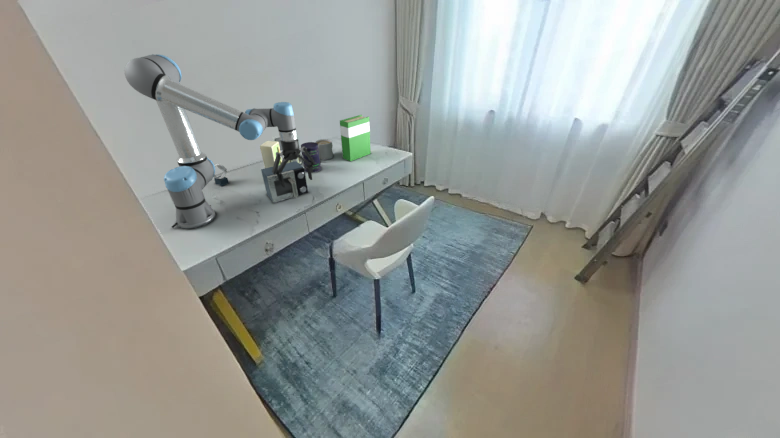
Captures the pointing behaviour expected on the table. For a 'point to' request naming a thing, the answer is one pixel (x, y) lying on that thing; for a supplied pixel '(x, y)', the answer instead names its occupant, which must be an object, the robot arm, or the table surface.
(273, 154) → the toy refrigerator
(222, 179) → the watch
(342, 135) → the hardback book
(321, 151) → the coffee mug
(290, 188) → the microwave door
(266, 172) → the microwave
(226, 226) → the table surface
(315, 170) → the storage jar
